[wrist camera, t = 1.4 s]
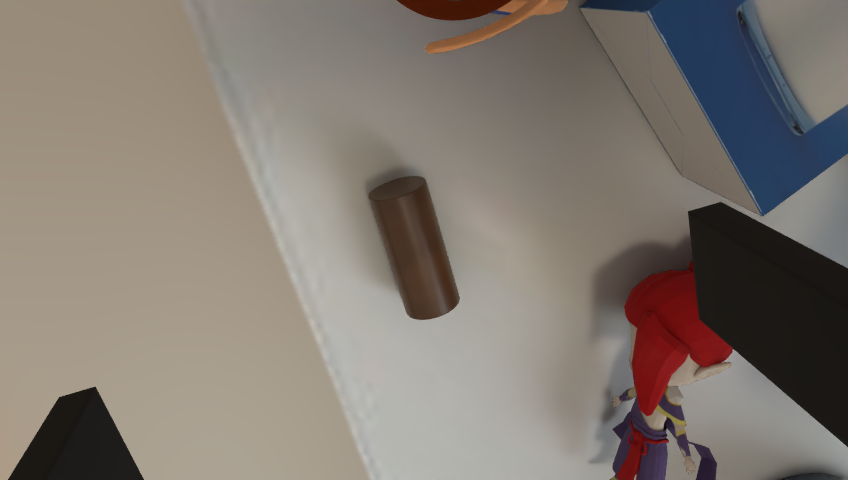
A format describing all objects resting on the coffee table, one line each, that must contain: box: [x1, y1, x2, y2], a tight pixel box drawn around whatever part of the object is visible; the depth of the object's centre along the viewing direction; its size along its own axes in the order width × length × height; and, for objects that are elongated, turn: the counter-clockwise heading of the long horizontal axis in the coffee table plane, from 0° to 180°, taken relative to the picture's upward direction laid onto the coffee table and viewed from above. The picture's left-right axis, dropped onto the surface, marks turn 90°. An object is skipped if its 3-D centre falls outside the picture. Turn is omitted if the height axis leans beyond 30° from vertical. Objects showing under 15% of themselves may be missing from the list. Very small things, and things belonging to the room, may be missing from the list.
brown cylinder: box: [369, 176, 460, 320], centre depth 30 cm, size 6×3×3 cm, turn 16°
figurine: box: [610, 260, 733, 480], centre depth 33 cm, size 6×8×15 cm
